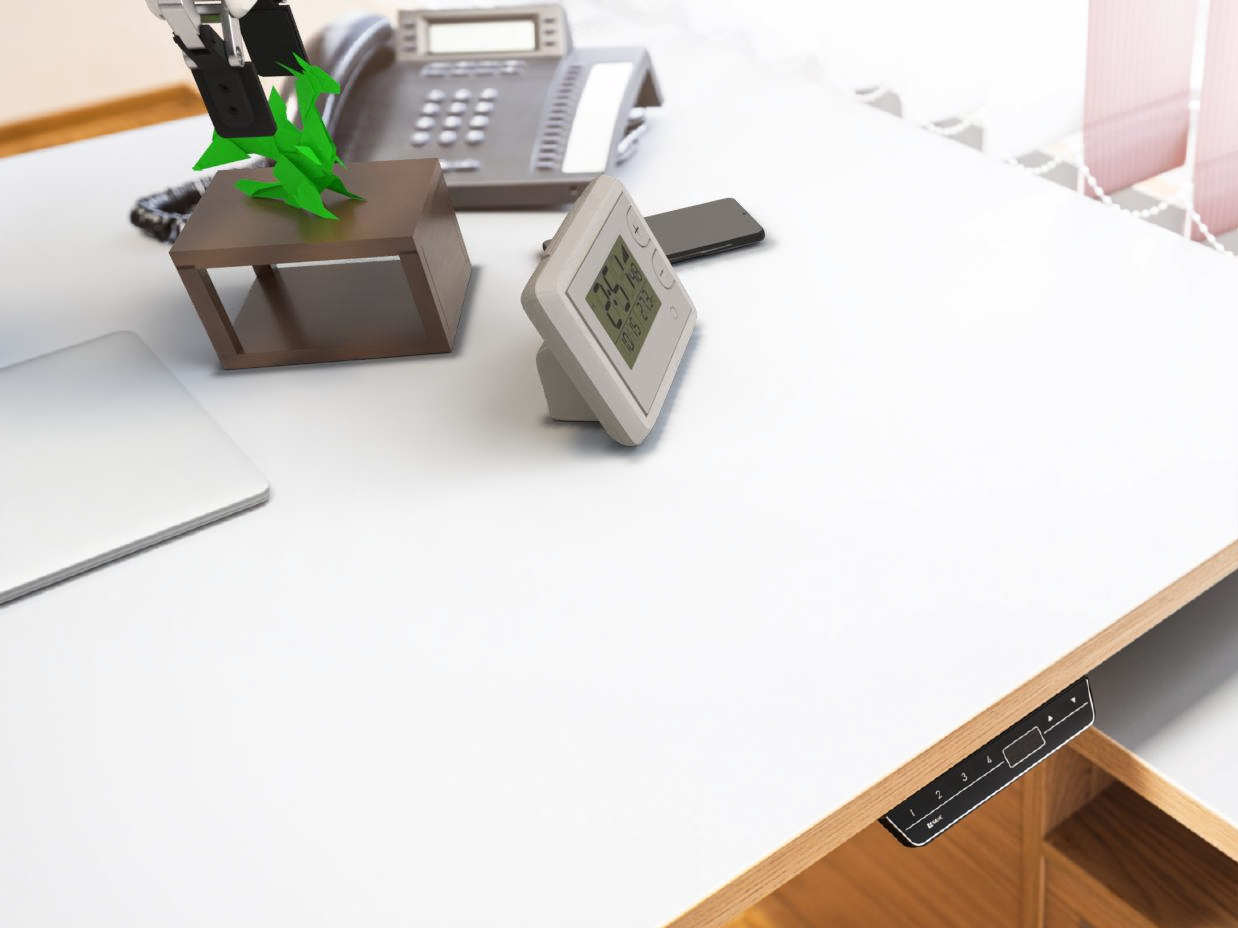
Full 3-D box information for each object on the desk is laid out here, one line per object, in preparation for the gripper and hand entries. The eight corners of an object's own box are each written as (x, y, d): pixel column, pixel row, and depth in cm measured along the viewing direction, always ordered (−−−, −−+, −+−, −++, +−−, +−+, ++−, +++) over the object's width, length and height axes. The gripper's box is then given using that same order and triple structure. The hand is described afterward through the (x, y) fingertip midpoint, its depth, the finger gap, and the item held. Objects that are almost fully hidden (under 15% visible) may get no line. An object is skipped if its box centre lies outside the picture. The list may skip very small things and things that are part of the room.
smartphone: (539, 240, 97) (732, 195, 102) (542, 252, 98) (734, 206, 103) (567, 279, 93) (767, 230, 98) (570, 291, 93) (768, 242, 99)
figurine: (369, 228, 81) (287, 70, 75) (218, 237, 84) (128, 87, 78) (428, 186, 85) (355, 34, 79) (282, 197, 89) (202, 52, 83)
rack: (224, 370, 85) (167, 252, 80) (265, 282, 94) (217, 169, 88) (451, 352, 87) (412, 236, 82) (472, 267, 96) (438, 157, 90)
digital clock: (641, 463, 79) (601, 297, 71) (502, 443, 80) (448, 278, 73) (743, 329, 90) (717, 175, 83) (619, 314, 91) (583, 160, 84)
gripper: (112, -267, 74) (235, 56, 86) (-1, -200, 62) (161, 165, 74) (256, -267, 75) (358, 52, 87) (173, -200, 63) (305, 159, 75)
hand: (268, 103), depth 81 cm, fingers open, 9 cm apart
